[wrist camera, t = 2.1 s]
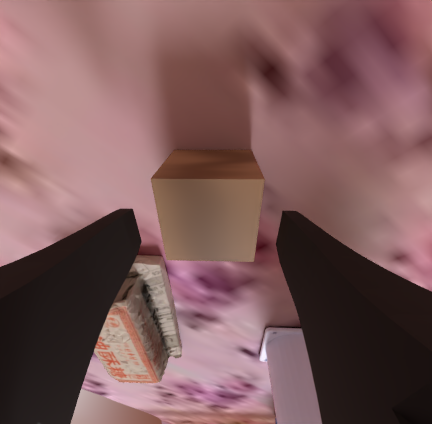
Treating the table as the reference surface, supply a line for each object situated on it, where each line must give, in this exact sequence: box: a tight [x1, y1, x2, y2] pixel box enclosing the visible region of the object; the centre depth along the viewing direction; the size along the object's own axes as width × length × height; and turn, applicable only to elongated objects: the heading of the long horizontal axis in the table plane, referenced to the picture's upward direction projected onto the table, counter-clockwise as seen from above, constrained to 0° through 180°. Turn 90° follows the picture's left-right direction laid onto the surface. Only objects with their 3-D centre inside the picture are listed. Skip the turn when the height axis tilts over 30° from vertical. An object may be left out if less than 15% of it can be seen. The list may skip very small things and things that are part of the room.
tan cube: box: [151, 150, 265, 262], centre depth 12 cm, size 5×5×5 cm
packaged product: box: [94, 255, 182, 383], centre depth 21 cm, size 18×5×10 cm
